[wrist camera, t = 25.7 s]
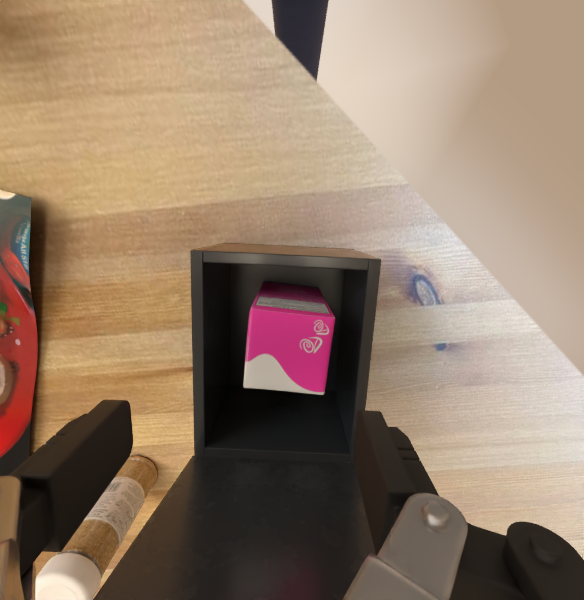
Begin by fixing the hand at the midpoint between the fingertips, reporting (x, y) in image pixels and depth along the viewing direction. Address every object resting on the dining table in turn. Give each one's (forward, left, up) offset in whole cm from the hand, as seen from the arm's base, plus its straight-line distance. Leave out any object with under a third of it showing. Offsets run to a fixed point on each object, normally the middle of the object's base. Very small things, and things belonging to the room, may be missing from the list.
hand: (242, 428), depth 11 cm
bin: (+2, +2, -22) cm, 22 cm away
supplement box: (+1, +2, -22) cm, 22 cm away
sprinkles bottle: (+25, -7, -22) cm, 34 cm away
